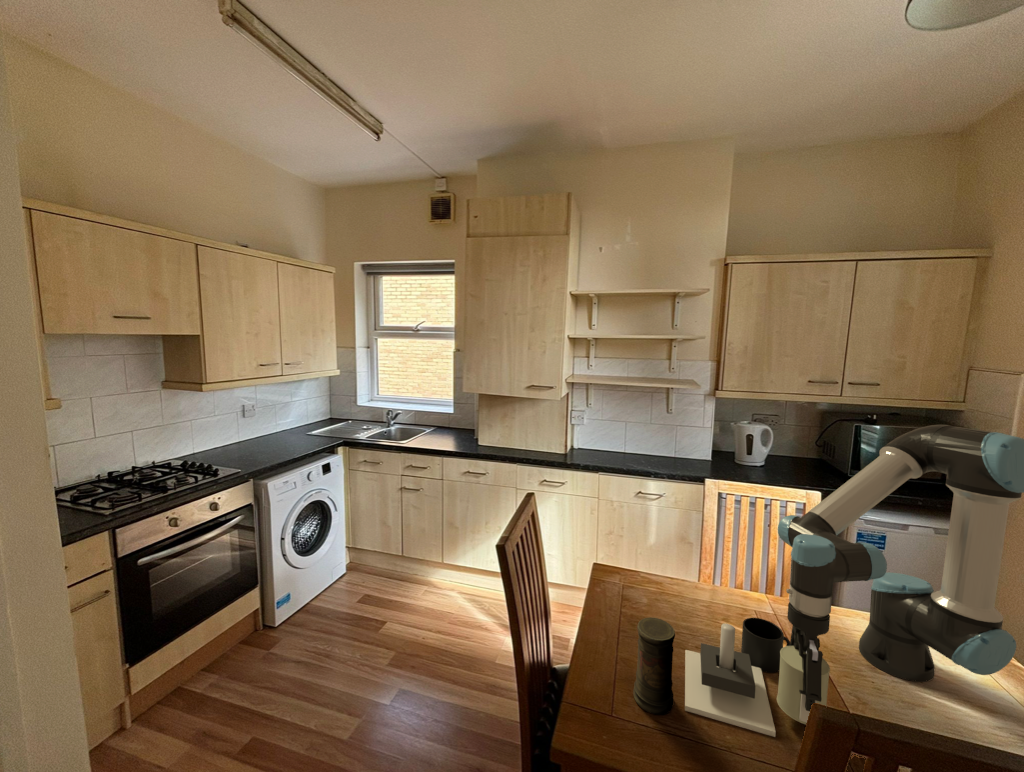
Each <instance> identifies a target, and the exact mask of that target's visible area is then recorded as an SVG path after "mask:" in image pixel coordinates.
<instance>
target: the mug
mask: <svg viewBox="0 0 1024 772" xmlns="http://www.w3.org/2000/svg"><path fill="white" fill-rule="evenodd" d="M784 641H785V642H786V645H785V646H790V639H789V638H788V637H786V636H785V635H784V632H783V630H782V629H781V627H779V626H778V625H777V624H775V623H773V621H769V620H767V619H764V618H760V617H759V618H758V617H748V618H746V619H744V620H743V621H742V633H741V651H740V652H741V653H745V654H749V657H750V662H751V666H754V667H758V668H761V671H762V673H763V672H764V673H769V674H771V673H777V672H778V673H779V672H780V651H781V649H782V648H783V647H784Z"/></svg>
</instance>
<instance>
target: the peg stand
mask: <svg viewBox="0 0 1024 772" xmlns="http://www.w3.org/2000/svg"><path fill="white" fill-rule="evenodd" d="M735 638H736V627H735V626H734V625H732V624H729V623H722V624H721V627H720V641H719V642H720V645H719V647H720V661H719V668H723V669H727V670H731V671H733V661H734V651H735ZM684 651H685V652H684V653H685V654H684V657H685V659H684V667H685V668H684V711H685V712H689V713H691V714H695V715H699V716H702V717H706V718H709V719H712V720H716V721H719V722H723V723H726V724H729V725H733V726H737V727H740V728H743V729H747V730H750V731H753V732H756V733H759V734H763V735H767V736H770V737H774V738H776V728H775V724H774V719H773V715H772V710H771V706H770V702H769V698H768V697H769V696H768V694H767V689H766V683H765V681H764V676H763V671H761V668H758V667H754V666H751V667H752V672H753V676H754V681H755V699H754V698H750V697H747V696H743V695H739V694H736V693H732V692H728V691H725V690H721V689H717V688H713V687H710V686H706V685H702V679H701V656H700V652H697V651H693V650H688V649H685V650H684Z"/></svg>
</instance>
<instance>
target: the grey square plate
mask: <svg viewBox="0 0 1024 772" xmlns="http://www.w3.org/2000/svg"><path fill="white" fill-rule="evenodd" d="M699 653H700V656H701V679H702V685H706V686H710V687H713V688H717V689H721V690H725V691H728V692H732V693H736V694H739V695H743V696H747V697H750V698H754V699H755V681H754V676H753V672H752V667H751V662H750V657H749V654H745V653H741V651H735V650H734V661H733V671H731V670H727V669H723V668H719V661H720V646H716V645H712V644H707V643H703V642H700V651H699Z"/></svg>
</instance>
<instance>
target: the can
mask: <svg viewBox="0 0 1024 772" xmlns="http://www.w3.org/2000/svg"><path fill="white" fill-rule="evenodd" d="M803 653H804V654H806V652H803ZM830 672H831V667H830V664H829V663H828V661H826V659H824V657H822V671H821V698H822V700H821V702H819V701H817V703H819V704H822V705H825V706H826V707H827V702H828V701H827V700H828V690H829V680H830V679H829V677H830ZM778 673H779V674H778V675H779V676H778V687H777V688H778V689H777V695H776V702H777V705H778V706H779V708H780V709H781V710H782V712H783V713H784V714H786V715H787V716H788V717H790V718H791V719H793V720H795V721H797V722H799V723H801V724H803V725H806V722H803V721H800V719H799V715H800V701H801V694H800V692H799V690H803V673H804V672H803V670H802V657H801V656H800V655H799V650H798V649H795V647H794V646H786V645H785V646H783V648H782V649H781V651H780V670H779V671H778Z"/></svg>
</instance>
